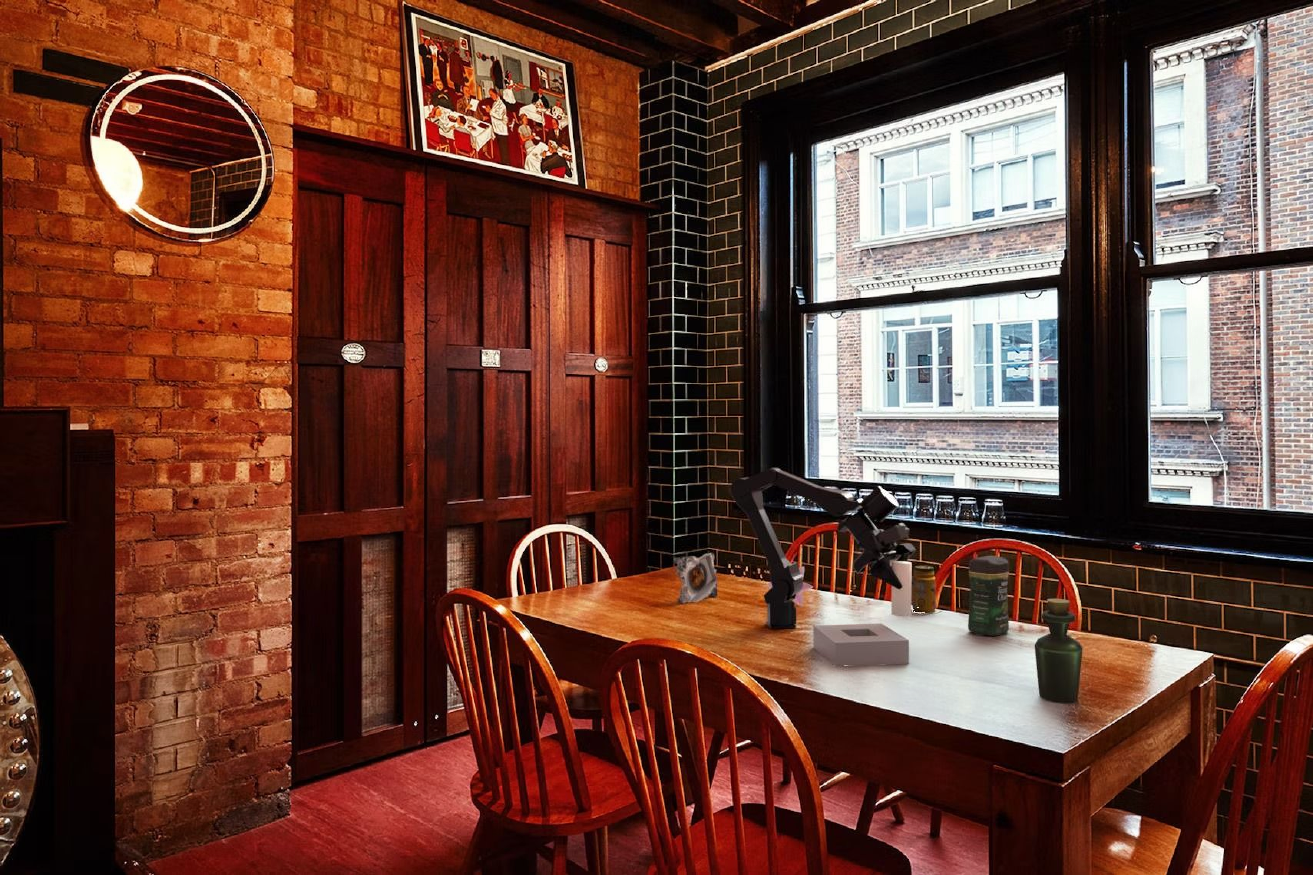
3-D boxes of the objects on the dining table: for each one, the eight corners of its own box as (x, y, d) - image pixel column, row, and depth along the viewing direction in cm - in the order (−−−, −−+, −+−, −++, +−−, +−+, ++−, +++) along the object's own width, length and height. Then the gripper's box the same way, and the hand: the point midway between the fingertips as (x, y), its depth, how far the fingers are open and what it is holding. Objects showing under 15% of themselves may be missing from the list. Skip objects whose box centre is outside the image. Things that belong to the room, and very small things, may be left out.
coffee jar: (993, 638, 207) (993, 560, 207) (963, 632, 213) (962, 556, 213) (1014, 632, 213) (1014, 555, 213) (984, 626, 219) (984, 552, 219)
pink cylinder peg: (895, 616, 201) (896, 564, 201) (888, 612, 206) (888, 561, 205) (914, 616, 202) (914, 564, 201) (906, 612, 206) (906, 561, 206)
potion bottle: (1031, 689, 167) (1031, 595, 167) (1078, 693, 165) (1078, 597, 165) (1037, 702, 160) (1037, 603, 159) (1086, 706, 157) (1086, 606, 157)
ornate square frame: (706, 595, 263) (706, 551, 263) (717, 597, 260) (717, 553, 260) (673, 603, 252) (673, 557, 252) (684, 605, 249) (684, 558, 249)
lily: (761, 604, 254) (762, 578, 249) (785, 583, 262) (786, 558, 257) (796, 622, 247) (797, 596, 242) (819, 600, 254) (821, 574, 250)
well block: (835, 666, 184) (835, 642, 184) (813, 647, 200) (813, 625, 200) (908, 663, 186) (908, 640, 186) (881, 645, 202) (881, 623, 202)
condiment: (942, 611, 238) (942, 567, 238) (921, 615, 233) (921, 570, 233) (920, 607, 244) (920, 563, 244) (900, 610, 239) (899, 566, 239)
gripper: (863, 515, 200) (906, 569, 192) (909, 509, 212) (950, 560, 204) (835, 546, 206) (875, 600, 198) (880, 539, 218) (920, 589, 210)
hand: (906, 586), depth 202 cm, fingers closed on pink cylinder peg, 4 cm apart
